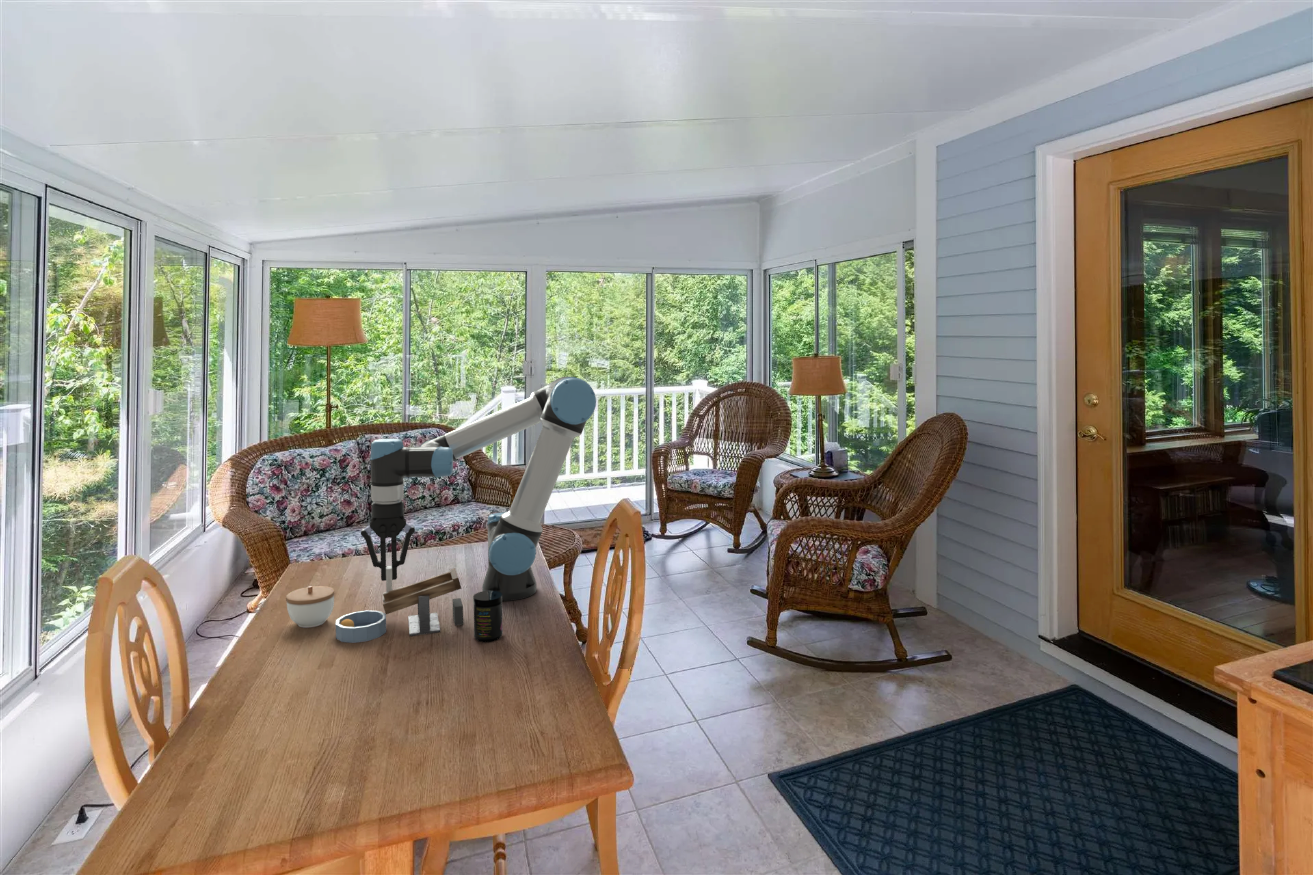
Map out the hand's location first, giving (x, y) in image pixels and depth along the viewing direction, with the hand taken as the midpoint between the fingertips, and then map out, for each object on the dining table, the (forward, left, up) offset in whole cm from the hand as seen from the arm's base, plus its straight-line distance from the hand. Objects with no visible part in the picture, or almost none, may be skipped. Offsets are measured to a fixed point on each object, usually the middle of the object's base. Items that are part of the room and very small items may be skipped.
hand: (389, 592), depth 169 cm
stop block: (-16, +7, -7) cm, 19 cm away
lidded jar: (+18, -4, -7) cm, 20 cm away
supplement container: (-22, +20, -7) cm, 31 cm away
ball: (+10, +7, -5) cm, 13 cm away
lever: (-8, +4, 0) cm, 9 cm away
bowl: (+6, +7, -7) cm, 12 cm away
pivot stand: (-8, +7, -7) cm, 13 cm away
